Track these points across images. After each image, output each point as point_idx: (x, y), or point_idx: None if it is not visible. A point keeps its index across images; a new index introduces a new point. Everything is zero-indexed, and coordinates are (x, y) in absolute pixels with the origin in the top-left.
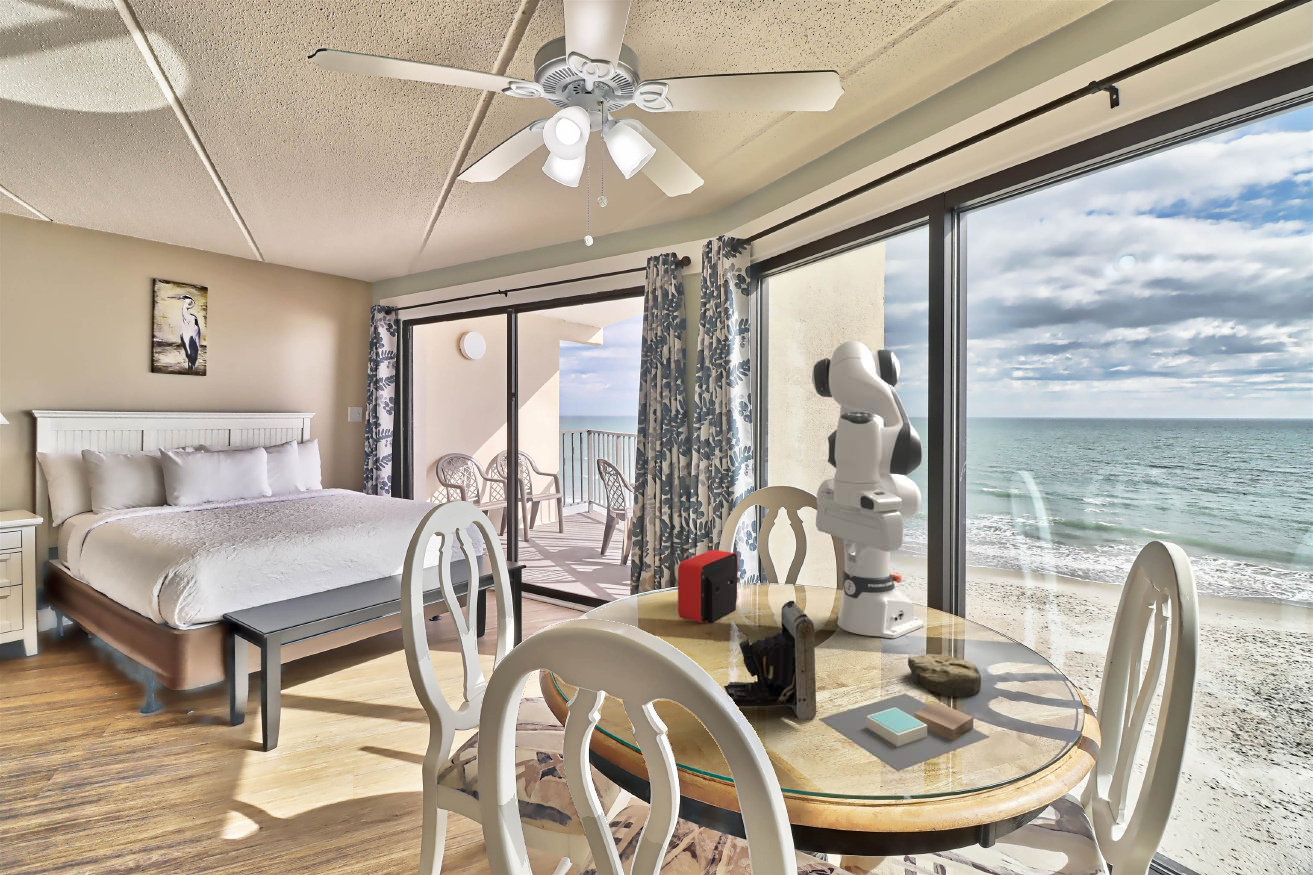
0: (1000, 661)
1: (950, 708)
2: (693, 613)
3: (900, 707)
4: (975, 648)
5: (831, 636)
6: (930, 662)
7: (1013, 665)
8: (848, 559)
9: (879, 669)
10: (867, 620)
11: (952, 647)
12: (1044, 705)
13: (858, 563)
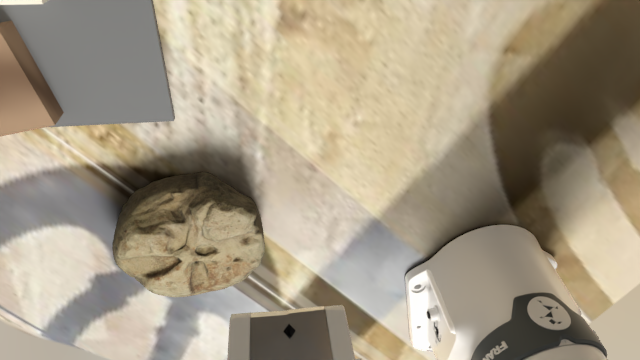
0: None
1: (11, 130)
2: None
3: (107, 56)
4: None
5: (498, 183)
6: (205, 234)
7: (216, 354)
8: (327, 314)
9: (313, 161)
10: (464, 270)
11: None
12: (63, 302)
13: (230, 323)
